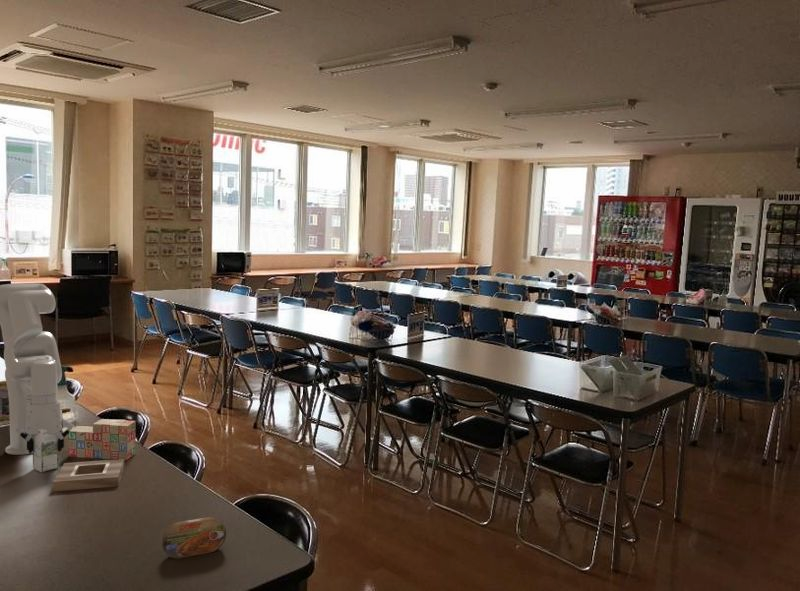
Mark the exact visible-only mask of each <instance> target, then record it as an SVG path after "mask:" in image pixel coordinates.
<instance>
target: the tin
mask: <svg viewBox="0 0 800 591" xmlns="http://www.w3.org/2000/svg"><path fill="white" fill-rule="evenodd" d="M226 539H227V530H226V528H225V525H224V524H223V523H222V521H221V520H220V519H219V518H216V517H213V516H207V517H201V518H195V519H188V520H181V521H177V522H174V523H172V524H171V525H169V526H168V527H167V528H166V529H165V531H164V533H163V535H162V542H161V543H162V549H163V551H164V552H165V554H166V555H167V556H168V557H171V558H174V559H182V558H188V557H192V556H193V557H194V556H197V555H198V556H199V555H204V554H209V553H213V552H216V551H217V550H219V549H220V548H221V547H222V546H223V544H224V543H225V541H226Z"/></svg>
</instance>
